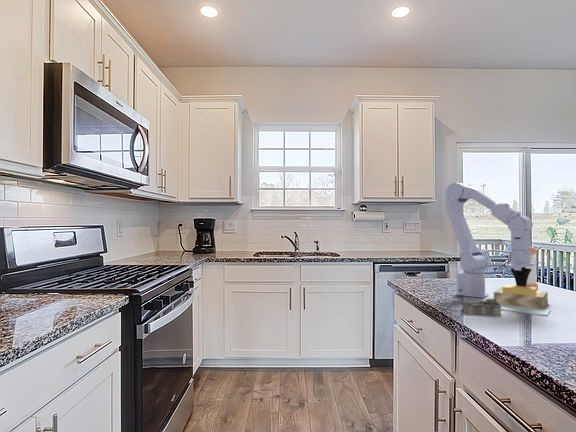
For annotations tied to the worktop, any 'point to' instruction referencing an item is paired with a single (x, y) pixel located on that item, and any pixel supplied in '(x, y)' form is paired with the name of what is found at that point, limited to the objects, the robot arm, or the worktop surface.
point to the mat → (525, 309)
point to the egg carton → (482, 307)
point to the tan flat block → (522, 299)
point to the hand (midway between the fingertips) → (521, 289)
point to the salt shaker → (532, 271)
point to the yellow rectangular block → (519, 290)
